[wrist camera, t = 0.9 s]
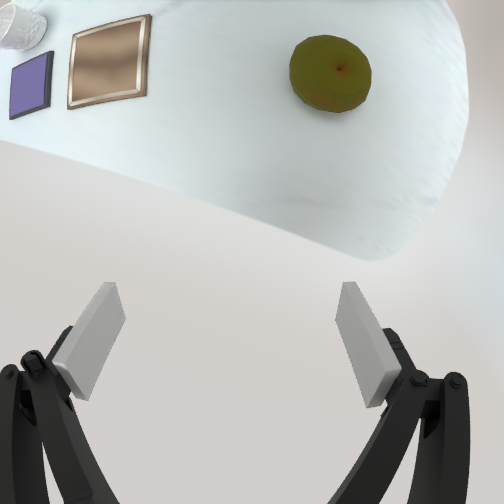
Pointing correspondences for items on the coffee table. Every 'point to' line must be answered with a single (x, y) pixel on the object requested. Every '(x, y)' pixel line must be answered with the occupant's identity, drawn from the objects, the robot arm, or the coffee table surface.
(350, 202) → the coffee table surface
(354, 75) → the apple
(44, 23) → the white cup
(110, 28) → the brown square coaster
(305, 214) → the coffee table surface
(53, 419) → the robot arm
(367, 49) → the coffee table surface
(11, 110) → the ink pad
